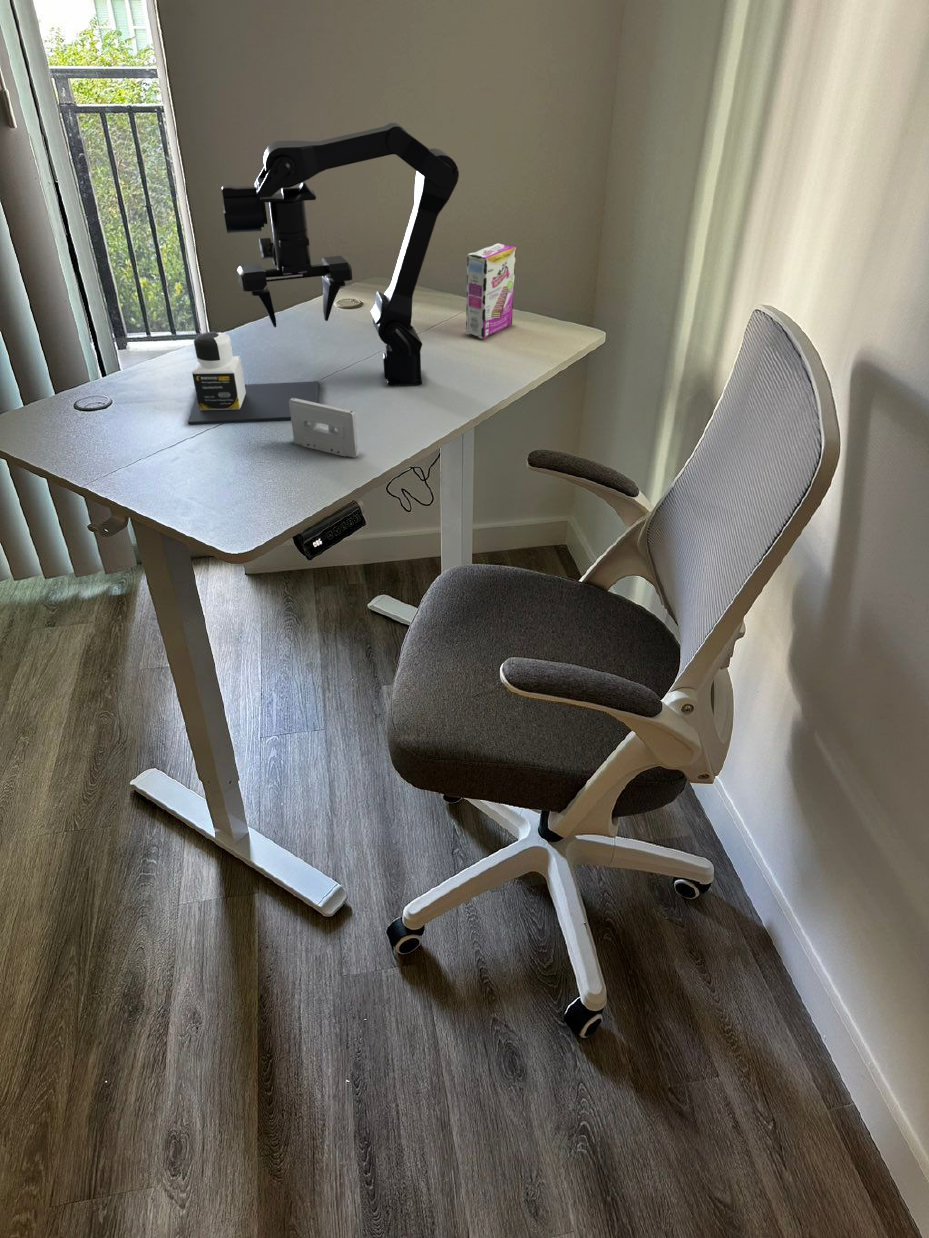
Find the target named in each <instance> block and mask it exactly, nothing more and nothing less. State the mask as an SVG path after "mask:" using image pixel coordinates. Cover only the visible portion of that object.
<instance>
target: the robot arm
mask: <svg viewBox="0 0 929 1238" xmlns="http://www.w3.org/2000/svg"><path fill="white" fill-rule="evenodd" d="M391 155H395V156H397V157H398V158H400V159H401V160H402V161H404V162H405V163H406V164H407V165H409V166H410V167H411V168H412V169H414V170H415V171H416V172H415V180H414V203H413V207H412V210H411V214H410V217H409V221H408V224H407V227H406V230H405V234H404V238H403V241H402V244H401V248H400V251H399V255H398V258H397V260H396V261H397V262H396V265H395V268H394V272H393V275H392V279H391V281H390V285H389V286H388V288H387V289H386V290H385V292H384V293H383V292H381V291H378V290H377V291H376V294H375V301H374V305H373V307H372V309H371V310H370V313H371V316H372V323H373V327H374V328H375V331H376V332H377V335H378V337H379V338H380V340H381V341H382V342H383V343H384V344H385V352H384V353H382V361H383V376H384V379H385V380H386V382H387V386H388V387H395V386H396V387H397V386H416V385H417V386H419V385H423V378H422V361H421V358H422V357H421V356H422V355H421V351H422V348H423V341H422V340H421V339H420V337H419V334H418V333H417V331H416V330H415V328H414V326H413V325H412V318H413V296H414V292H415V290H416V286H417V283H418V280H419V277H420V273H421V270H422V267H423V264H424V261H425V258H426V254H427V251H428V248H429V245H430V242H431V239H432V235H433V232H434V229H435V226H436V222H437V220H438V216H439V215H440V213H441V212H442V210H443V209H444V207H445V206H446V205H447V204H448V202H449V200H450V198H451V196H452V194H453V192H454V190H455V189H456V186H457V184H458V182H459V177H460V171H459V168H458V165H457V163H456V162H455V161H454V159H453V158H452V157H450V156H449V155H448V154H447V153H446V152H445V151H443V150H442V149H440V148H434V147H433V148H428V147H427V146H426V145H425V144H423V143H422V142H420V140H418V139H417V138H416V137H414V136H413V135H411V134H410V133H408V132H407V130H406V129H405V128H403V126H401V125H400V124H399V123H397V122H390V123H388V124H386V125H384V126H379V127H375V128H370V129H365V130H362V131H358V132H353V133H349V134H343V135H340V136H336V137H331V138H327V139H322V140H315V141H314V140H313V141H310V140H276V141H274V142H272V143H269V145H267V147H266V149H265V151H264V153H263V165H264V166H263V168H262V169H261V171H260V173H259V175H258V176H257V177H256V180H255V182H254V185H246V186H233V185H222V187H221V193H222V200H223V205H222V206H223V216H224V221H225V229H226V233H227V234H235V233H251V232H252V233H254V232H262V231H263V230H262V228H265V225H268V216H267V208H266V203H268V204H269V212H270V219H271V220H270V221H271V229H272V237H273V242H272V239H271V237H262V238H259V239H258V243H259V252H260V257H261V259H262V260H267V259H272V263H273V265H274V266H275V267H276V268H270V269H264V268H263V266H262V265H261V263H255V264H244V265H239V266H238V267H237V269H236V275H237V280H238V281H237V282H238V284H239V285H240V287H241V289H242V290H243V292H246V293H247V292H250V294H251V296H254V297H258V298H259V299H260V300H261V302H262V305H263V307H264V309H265V311H266V313H267V315H268V318H269V320H270V322H271V324H272V326H273V328H277V319H276V313H275V310H274V306H273V305H274V304H273V300H272V297H271V291H270V290H269V289H268V287H267V285H268V283H269V282H278V281H279V282H280V281H287V280H297V279H298V280H299V279H307V278H316V277H321V283H322V311H323V312H322V313H323V319H324V321H325V322H329V318H330V315H331V312H332V309H333V305H334V303H335V300H336V297H337V295H338V294H339V291H340V288H341V287H345V286H346V282H349V281H352V280H353V269H352V266H351V264H350V263H349V262H348V261H347V259H346V258H345V257H343V256H342V255H334V256H333V255H332V256H323V257H322V258H321V263H318V264H312V262H311V260H312V259H311V250H310V239H309V232H308V231H309V229H308V222H307V212H306V201H316V200H317V196H316V194H315V191H314V190H312V189H311V188H310V187H309V186H308V184H307V183H306V181H309V180H310V179H312V178H314V177H315V176H317V175H318V174H319V173H322V172H324V171H326V170H331V169H334V168H338V167H344V166H348V165H352V164H356V163H361V162H365V161H369V160H373V159H378V158H382V157H387V156H391ZM297 185H299V186H298V187H295V186H297ZM280 190H281V192H279V191H280ZM277 192H279V193H277Z"/></svg>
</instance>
